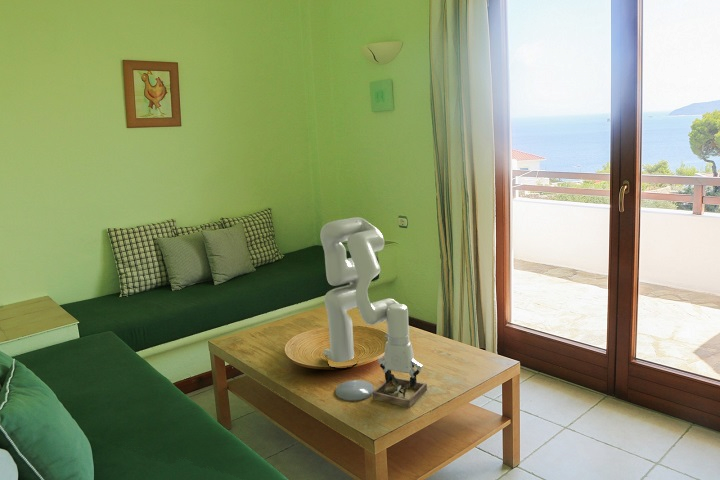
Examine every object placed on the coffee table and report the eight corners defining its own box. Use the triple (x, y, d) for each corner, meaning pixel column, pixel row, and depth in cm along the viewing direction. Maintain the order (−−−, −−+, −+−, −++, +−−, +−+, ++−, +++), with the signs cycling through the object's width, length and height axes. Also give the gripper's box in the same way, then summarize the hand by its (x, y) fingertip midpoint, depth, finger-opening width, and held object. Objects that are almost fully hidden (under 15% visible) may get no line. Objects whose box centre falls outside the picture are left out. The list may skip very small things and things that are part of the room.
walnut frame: (372, 398, 208) (372, 392, 208) (391, 382, 220) (390, 375, 220) (410, 407, 201) (409, 401, 201) (426, 389, 213) (426, 383, 212)
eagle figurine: (412, 387, 213) (392, 378, 217) (409, 378, 208) (388, 368, 212) (402, 405, 209) (381, 395, 214) (399, 395, 204) (377, 385, 209)
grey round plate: (328, 395, 212) (328, 393, 212) (348, 379, 224) (348, 377, 224) (361, 404, 205) (361, 401, 205) (380, 387, 217) (380, 384, 217)
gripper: (371, 339, 207) (374, 384, 210) (416, 346, 198) (418, 393, 202) (381, 332, 213) (384, 375, 217) (425, 338, 205) (427, 384, 208)
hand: (400, 384), depth 209 cm, fingers open, 9 cm apart
